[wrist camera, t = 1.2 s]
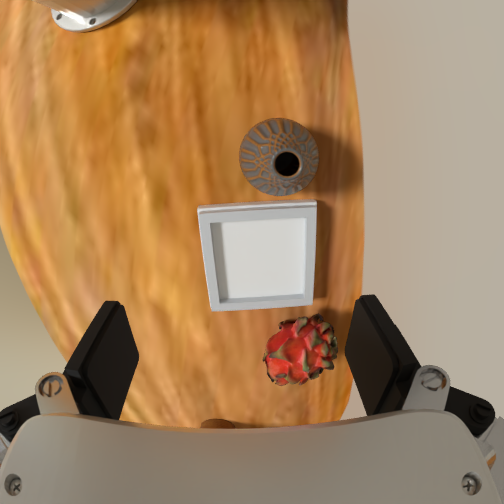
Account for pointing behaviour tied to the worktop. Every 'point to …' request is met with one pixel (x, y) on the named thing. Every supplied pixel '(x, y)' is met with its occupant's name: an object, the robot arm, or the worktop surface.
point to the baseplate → (259, 253)
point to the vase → (279, 156)
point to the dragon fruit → (300, 351)
